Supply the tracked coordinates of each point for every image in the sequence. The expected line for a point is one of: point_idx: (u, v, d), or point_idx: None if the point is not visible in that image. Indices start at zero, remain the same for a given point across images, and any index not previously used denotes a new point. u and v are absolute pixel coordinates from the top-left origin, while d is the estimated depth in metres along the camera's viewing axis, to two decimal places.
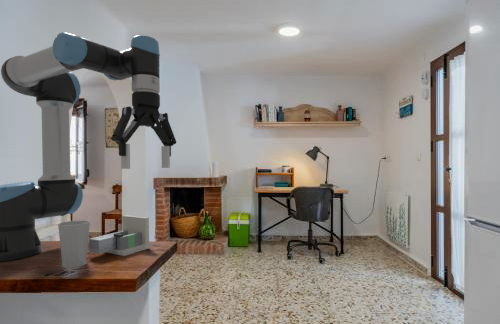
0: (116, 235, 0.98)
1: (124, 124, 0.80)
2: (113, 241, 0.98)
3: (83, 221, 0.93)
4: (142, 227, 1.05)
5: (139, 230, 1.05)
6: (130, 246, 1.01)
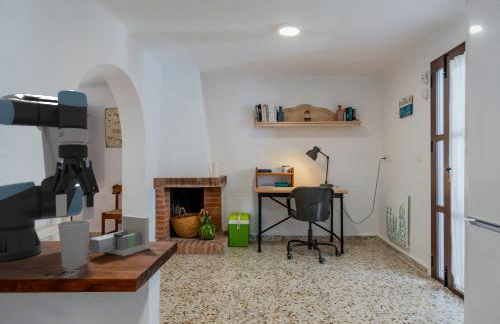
0: (116, 235, 0.98)
1: (54, 178, 0.92)
2: (113, 241, 0.98)
3: (83, 221, 0.93)
4: (142, 227, 1.05)
5: (139, 230, 1.05)
6: (130, 246, 1.01)
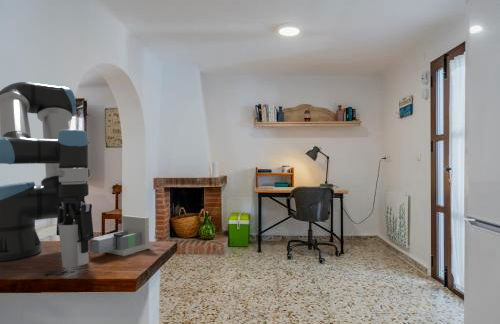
0: (116, 235, 0.98)
1: (58, 220, 0.92)
2: (113, 241, 0.98)
3: None
4: (142, 227, 1.05)
5: (139, 230, 1.05)
6: (130, 246, 1.01)
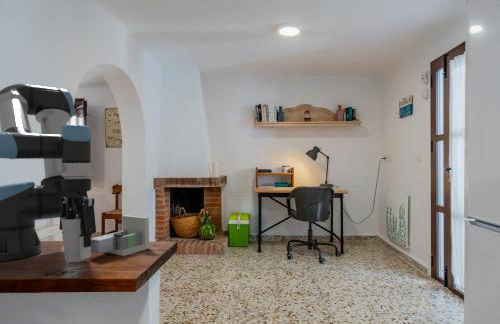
0: (116, 235, 0.98)
1: (61, 214, 0.92)
2: (113, 241, 0.98)
3: None
4: (142, 227, 1.05)
5: (139, 230, 1.05)
6: (130, 246, 1.01)
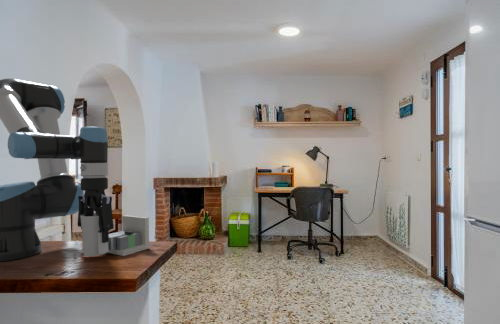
0: (127, 232, 1.01)
1: (79, 212, 0.97)
2: None
3: None
4: (142, 227, 1.05)
5: (139, 230, 1.05)
6: (130, 246, 1.01)
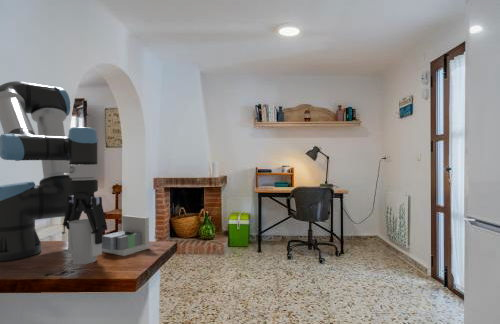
0: (127, 232, 1.01)
1: (66, 212, 0.95)
2: None
3: None
4: (142, 227, 1.05)
5: (139, 230, 1.05)
6: (130, 246, 1.01)
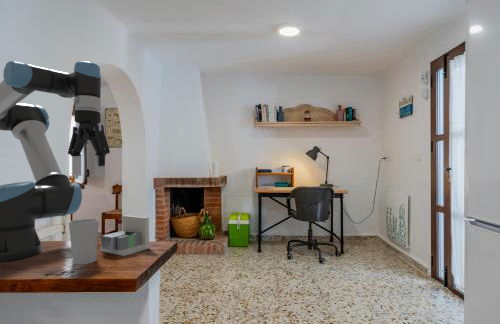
0: (127, 232, 1.01)
1: (71, 141, 1.03)
2: None
3: (92, 219, 0.96)
4: (142, 227, 1.05)
5: (139, 230, 1.05)
6: (130, 246, 1.01)
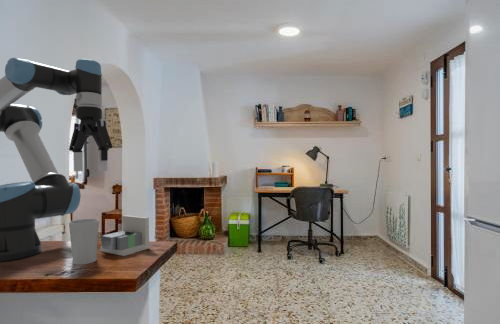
0: (127, 232, 1.01)
1: (72, 137, 1.05)
2: None
3: (92, 219, 0.96)
4: (142, 227, 1.05)
5: (139, 230, 1.05)
6: (130, 246, 1.01)
